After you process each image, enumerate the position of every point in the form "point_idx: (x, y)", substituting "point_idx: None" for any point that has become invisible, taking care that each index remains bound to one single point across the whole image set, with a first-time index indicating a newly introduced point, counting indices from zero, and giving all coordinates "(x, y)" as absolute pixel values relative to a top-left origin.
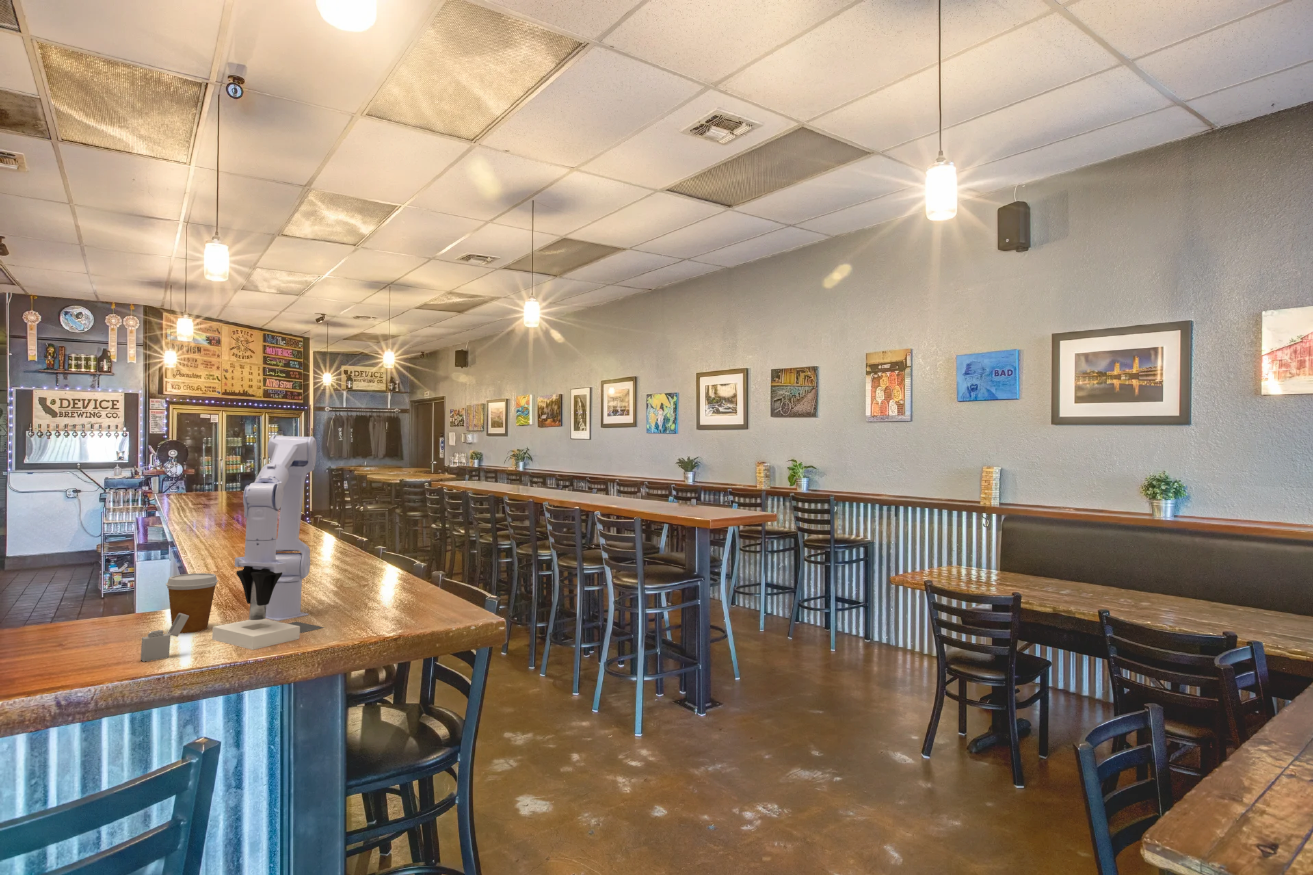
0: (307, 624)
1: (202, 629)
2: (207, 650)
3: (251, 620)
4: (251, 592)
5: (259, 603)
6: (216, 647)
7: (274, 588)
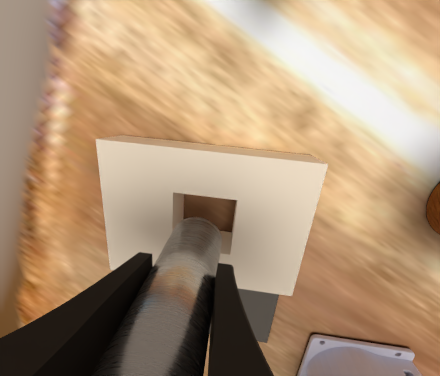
0: None
1: (432, 211)
2: (235, 83)
3: (284, 267)
4: (176, 305)
5: (130, 258)
6: (242, 118)
7: None
